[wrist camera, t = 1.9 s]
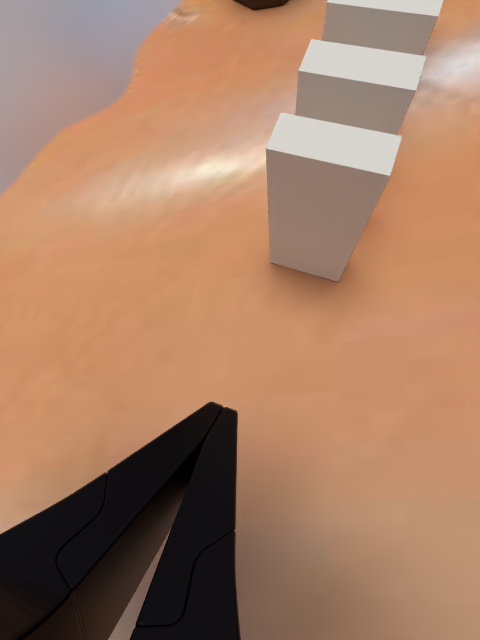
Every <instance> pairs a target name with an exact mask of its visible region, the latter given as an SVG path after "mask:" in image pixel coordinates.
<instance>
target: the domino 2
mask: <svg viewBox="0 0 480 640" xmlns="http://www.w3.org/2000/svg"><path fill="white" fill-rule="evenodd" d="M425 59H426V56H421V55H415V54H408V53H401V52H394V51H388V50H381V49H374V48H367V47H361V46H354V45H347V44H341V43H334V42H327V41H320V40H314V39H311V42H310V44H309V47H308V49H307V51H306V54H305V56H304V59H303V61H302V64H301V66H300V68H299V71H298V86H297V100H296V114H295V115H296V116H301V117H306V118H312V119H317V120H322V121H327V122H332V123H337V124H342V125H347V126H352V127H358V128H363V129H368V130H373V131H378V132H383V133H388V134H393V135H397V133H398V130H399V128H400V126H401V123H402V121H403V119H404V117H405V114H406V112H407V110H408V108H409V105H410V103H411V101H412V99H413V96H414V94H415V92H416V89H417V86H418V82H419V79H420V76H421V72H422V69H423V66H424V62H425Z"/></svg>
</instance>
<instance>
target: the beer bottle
mask: <svg viewBox="0 0 480 640" xmlns="http://www.w3.org/2000/svg"><path fill="white" fill-rule="evenodd" d="M236 1H238V2H240V3H242V4H244V5H246V6H248V7H250V8H252V9H254V10H255V9H262V8H268V7H274V6H280V5H283V4H284V3H285V2H286V1H287V0H236Z"/></svg>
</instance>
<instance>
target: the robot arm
mask: <svg viewBox="0 0 480 640" xmlns="http://www.w3.org/2000/svg"><path fill="white" fill-rule="evenodd" d="M237 424H238V413H237V411H236V410H233V409H230V408H228V407H223V406H222V405H220V404H217V403H214V402H209V403H207V404H206V405H204V406H203V407H201V408H200V409H199V410H197V411H196V412H194V413H193V414H191V415H190V416H188V417H187V418H185V419H184V420H182V421H181V422H179V423H178V424H176V425H175V426H173V427H172V428H170V429H169V430H167V431H166V432H164V433H163V434H161V435H160V436H158V437H157V438H156V439H154V440H153V441H151V442H150V443H148V444H147V445H145V446H144V447H142V448H141V449H139V450H138V451H136V452H135V453H133V454H132V455H130V456H129V457H127V458H126V459H124V460H123V461H121V462H120V463H118V464H117V465H115V466H114V467H113V468H111V469H110V470H108V472H107V473H103V474H102V475H100V476H99V477H97V478H96V479H95V480H93V481H92V482H90V483H88V484H87V485H85V486H84V487H82V488H81V489H79V490H78V491H76V492H74V493H73V494H71V495H70V496H68V497H66V498H64V499H63V500H61V501H59V502H57V503H56V504H54V505H52V506H51V507H49V508H47V509H45V510H43V511H42V512H40V513H38V514H36V515H34V516H33V517H31V518H29V519H27V520H25V521H23V522H22V523H20V524H18V525H16V526H14V527H12V528H11V529H9V530H7V531H5V532H3V533H2V534H0V640H108V639H109V637H110V635H111V633H112V632H113V630H114V628H115V626H116V625H117V623H118V621H119V619H120V617H121V616H122V614H123V612H124V610H125V609H126V607H127V605H128V603H129V602H130V600H131V598H132V596H133V595H134V593H135V591H136V589H137V587H138V586H139V584H140V582H141V580H142V579H143V577H144V575H145V573H146V572H147V570H148V568H149V566H150V564H151V563H152V561H153V559H154V557H155V556H156V554H157V552H158V550H159V549H160V547H161V545H162V543H163V542H164V540H165V538H166V536H167V534H168V533H169V531H170V529H171V531H170V534H169V536H168V539H167V542H166V544H165V547H164V550H163V552H162V555H161V558H160V560H159V563H158V566H157V568H156V571H155V574H154V576H153V579H152V582H151V584H150V587H149V590H148V592H147V595H146V598H145V600H144V603H143V606H142V608H141V611H140V614H139V616H138V619H137V622H136V628H134V630H133V633H132V635H131V638H130V640H241V638H240V627H239V616H238V605H237V591H236V574H235V537H236V533H235V528H236V476H237ZM171 527H172V528H171Z"/></svg>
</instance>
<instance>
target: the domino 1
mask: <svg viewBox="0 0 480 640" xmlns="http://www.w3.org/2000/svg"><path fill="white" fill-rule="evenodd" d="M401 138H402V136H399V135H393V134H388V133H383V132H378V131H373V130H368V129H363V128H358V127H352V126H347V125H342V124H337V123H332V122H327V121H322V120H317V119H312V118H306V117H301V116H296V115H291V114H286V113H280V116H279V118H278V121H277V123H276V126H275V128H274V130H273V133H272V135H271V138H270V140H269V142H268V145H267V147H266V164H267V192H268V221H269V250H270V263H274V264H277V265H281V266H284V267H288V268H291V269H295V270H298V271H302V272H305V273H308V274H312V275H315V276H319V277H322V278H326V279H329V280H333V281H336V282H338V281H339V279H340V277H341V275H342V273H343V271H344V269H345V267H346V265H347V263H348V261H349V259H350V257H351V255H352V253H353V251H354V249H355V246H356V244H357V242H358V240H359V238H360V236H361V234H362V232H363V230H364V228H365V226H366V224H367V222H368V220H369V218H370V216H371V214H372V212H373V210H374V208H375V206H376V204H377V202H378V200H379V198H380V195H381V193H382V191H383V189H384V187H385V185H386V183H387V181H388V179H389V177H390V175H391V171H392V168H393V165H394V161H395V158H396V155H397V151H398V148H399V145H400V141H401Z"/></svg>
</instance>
